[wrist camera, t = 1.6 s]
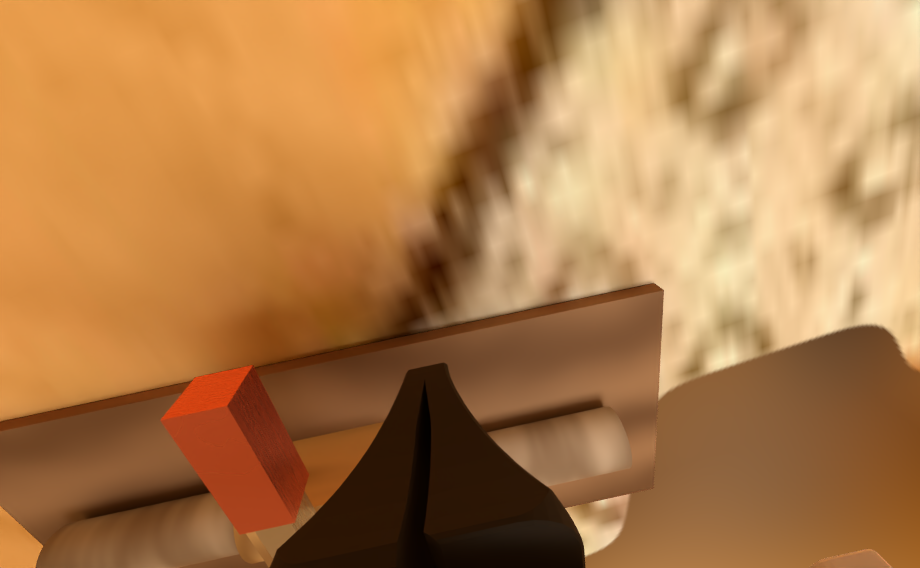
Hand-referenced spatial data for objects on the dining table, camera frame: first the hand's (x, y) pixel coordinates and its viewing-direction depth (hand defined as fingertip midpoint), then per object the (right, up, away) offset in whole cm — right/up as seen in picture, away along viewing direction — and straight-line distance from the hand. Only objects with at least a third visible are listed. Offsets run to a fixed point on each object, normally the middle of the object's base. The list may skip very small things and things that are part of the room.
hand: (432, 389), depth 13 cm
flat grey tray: (-5, -6, +8) cm, 11 cm away
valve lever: (-5, -4, +2) cm, 7 cm away
